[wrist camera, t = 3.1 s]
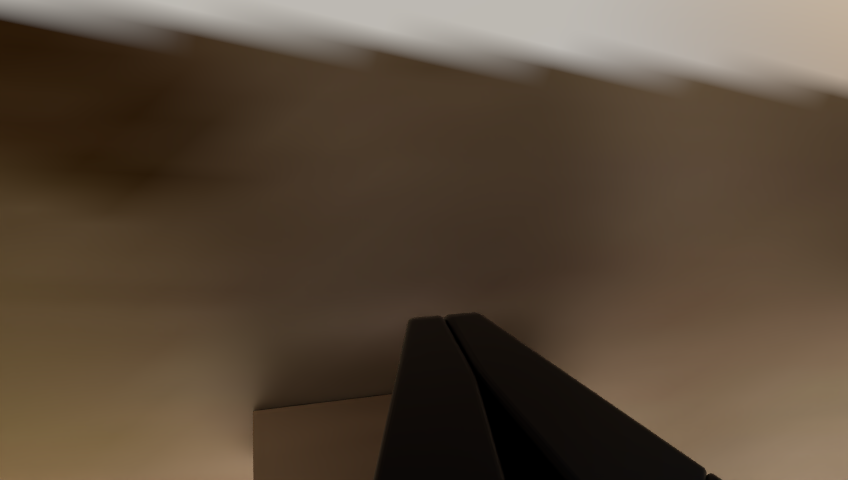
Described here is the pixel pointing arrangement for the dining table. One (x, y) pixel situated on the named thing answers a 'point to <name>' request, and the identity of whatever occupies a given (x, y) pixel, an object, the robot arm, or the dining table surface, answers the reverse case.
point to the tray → (320, 440)
